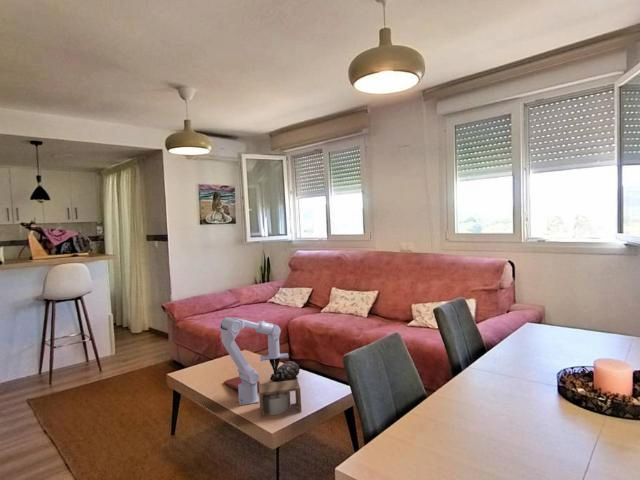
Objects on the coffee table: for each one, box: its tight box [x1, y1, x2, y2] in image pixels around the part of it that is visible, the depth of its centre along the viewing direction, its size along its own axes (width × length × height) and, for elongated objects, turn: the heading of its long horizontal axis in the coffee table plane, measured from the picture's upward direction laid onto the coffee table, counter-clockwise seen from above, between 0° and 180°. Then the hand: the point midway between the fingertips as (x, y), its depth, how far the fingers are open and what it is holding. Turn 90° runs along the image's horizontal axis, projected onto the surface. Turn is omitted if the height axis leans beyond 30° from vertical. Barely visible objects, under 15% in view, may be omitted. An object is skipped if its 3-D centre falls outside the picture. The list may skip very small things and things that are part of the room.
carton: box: [223, 376, 261, 394], centre depth 212 cm, size 12×5×25 cm
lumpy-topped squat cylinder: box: [263, 391, 291, 416], centre depth 186 cm, size 10×13×9 cm
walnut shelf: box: [258, 379, 302, 419], centre depth 183 cm, size 18×10×12 cm, turn 102°
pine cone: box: [269, 360, 301, 383], centre depth 216 cm, size 10×18×10 cm, turn 142°
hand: (275, 372), depth 205 cm, fingers closed
